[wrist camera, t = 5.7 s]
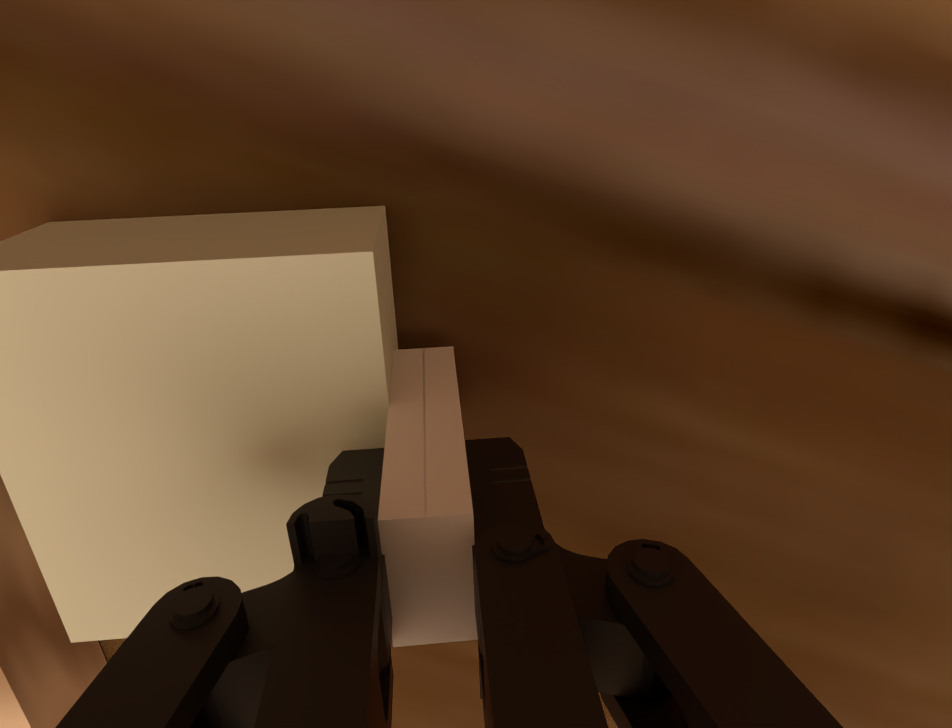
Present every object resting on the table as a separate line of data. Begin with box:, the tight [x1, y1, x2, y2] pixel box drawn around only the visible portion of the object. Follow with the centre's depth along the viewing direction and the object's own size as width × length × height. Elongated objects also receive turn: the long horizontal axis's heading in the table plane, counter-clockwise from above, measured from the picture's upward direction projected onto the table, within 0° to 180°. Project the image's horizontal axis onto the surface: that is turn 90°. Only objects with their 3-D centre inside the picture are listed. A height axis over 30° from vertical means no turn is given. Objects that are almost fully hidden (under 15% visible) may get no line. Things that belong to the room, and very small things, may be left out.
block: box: [0, 206, 398, 643], centre depth 15 cm, size 9×8×4 cm
